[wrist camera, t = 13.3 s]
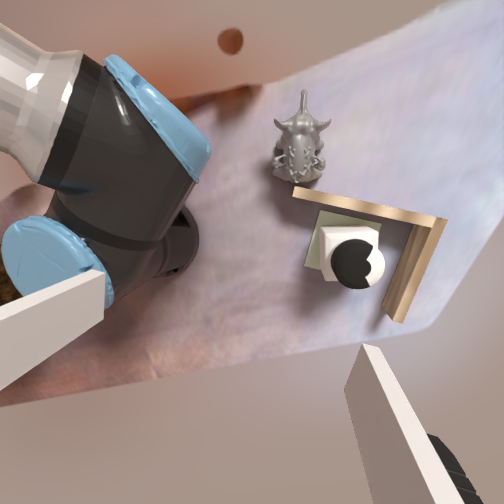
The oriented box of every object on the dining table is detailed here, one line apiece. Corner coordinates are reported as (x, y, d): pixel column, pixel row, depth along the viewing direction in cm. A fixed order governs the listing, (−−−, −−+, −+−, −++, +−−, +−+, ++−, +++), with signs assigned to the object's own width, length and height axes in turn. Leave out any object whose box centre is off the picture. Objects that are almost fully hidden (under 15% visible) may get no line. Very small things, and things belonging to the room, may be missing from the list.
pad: (303, 265, 43) (304, 266, 43) (320, 209, 40) (320, 209, 40) (360, 279, 42) (361, 280, 42) (381, 223, 40) (382, 223, 39)
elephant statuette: (277, 190, 41) (276, 193, 34) (257, 114, 38) (250, 100, 31) (333, 173, 39) (344, 172, 32) (316, 91, 36) (324, 71, 29)
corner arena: (271, 277, 45) (269, 288, 40) (294, 186, 40) (294, 186, 35) (389, 308, 43) (402, 323, 38) (428, 215, 38) (447, 219, 33)
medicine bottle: (319, 267, 43) (329, 295, 31) (319, 226, 41) (329, 241, 29) (363, 266, 41) (390, 295, 30) (364, 223, 40) (394, 238, 28)
